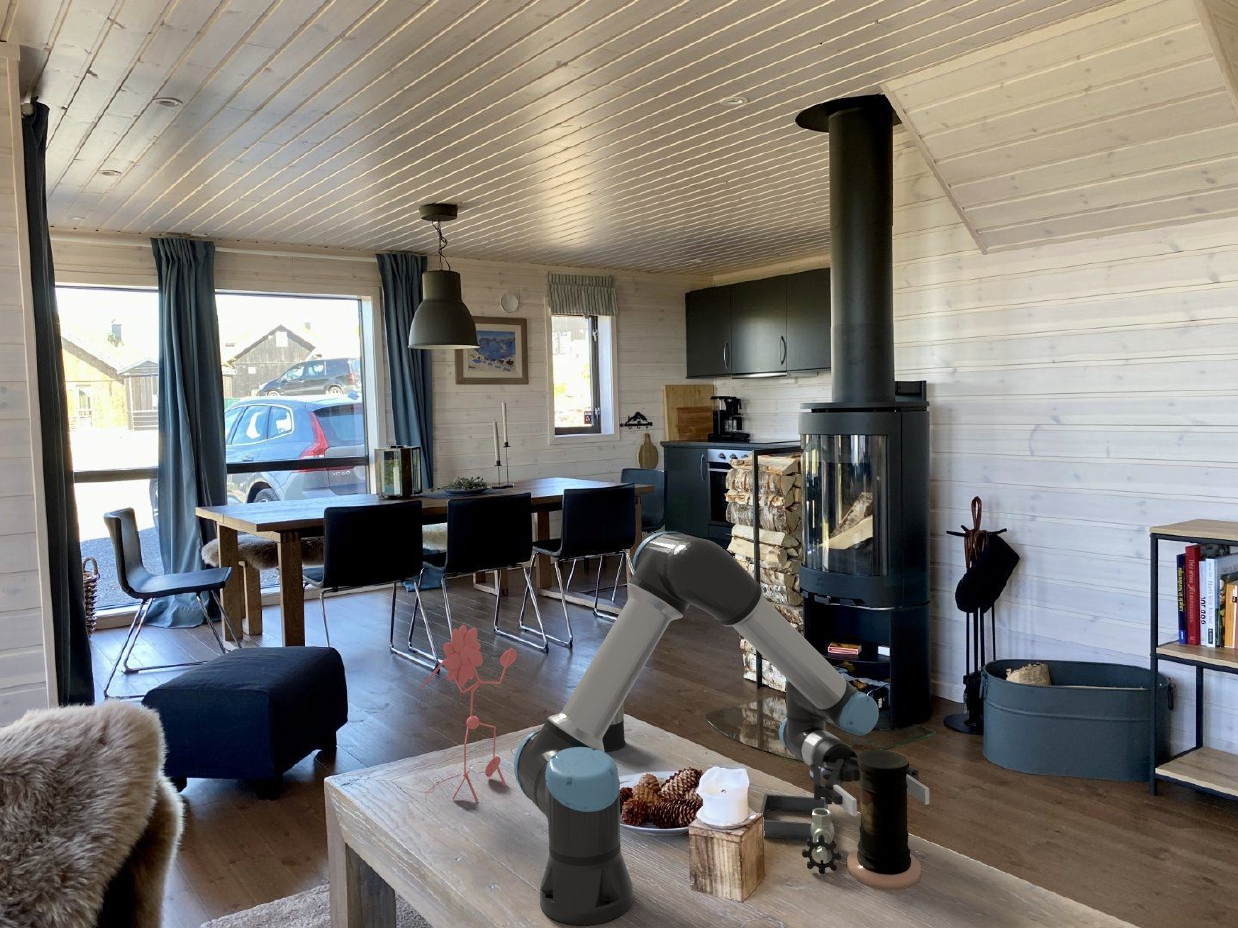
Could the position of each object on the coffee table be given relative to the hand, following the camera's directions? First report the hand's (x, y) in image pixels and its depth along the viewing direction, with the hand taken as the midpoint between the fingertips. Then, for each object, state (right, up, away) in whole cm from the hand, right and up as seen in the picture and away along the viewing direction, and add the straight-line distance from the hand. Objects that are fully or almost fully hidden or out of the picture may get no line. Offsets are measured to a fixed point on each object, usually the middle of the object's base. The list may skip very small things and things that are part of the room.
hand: (891, 802), depth 156 cm
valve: (-10, -13, +9) cm, 19 cm away
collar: (-12, -12, +22) cm, 28 cm away
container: (0, -12, +3) cm, 12 cm away
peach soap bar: (0, -13, +3) cm, 13 cm away
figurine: (-78, -13, +44) cm, 90 cm away
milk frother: (-52, -11, +65) cm, 84 cm away
